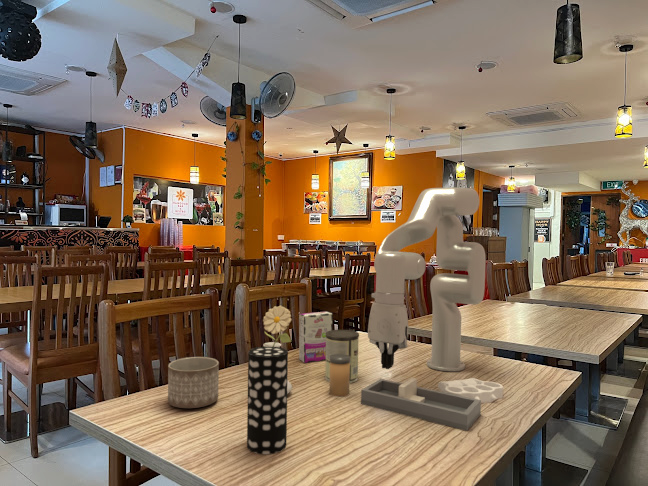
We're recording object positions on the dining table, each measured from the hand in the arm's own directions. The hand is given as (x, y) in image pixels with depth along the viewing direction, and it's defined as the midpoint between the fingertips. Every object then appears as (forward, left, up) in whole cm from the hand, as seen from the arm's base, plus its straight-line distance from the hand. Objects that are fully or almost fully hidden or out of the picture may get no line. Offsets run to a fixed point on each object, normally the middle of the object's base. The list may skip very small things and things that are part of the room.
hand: (387, 367), depth 124 cm
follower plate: (-1, +7, -8) cm, 11 cm away
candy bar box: (-22, -38, -10) cm, 45 cm away
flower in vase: (+13, -28, -10) cm, 32 cm away
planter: (+30, -41, -10) cm, 52 cm away
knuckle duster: (-19, +17, -10) cm, 27 cm away
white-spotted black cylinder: (+37, -10, -10) cm, 40 cm away
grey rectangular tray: (-1, +9, -9) cm, 13 cm away
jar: (+1, -14, -9) cm, 17 cm away
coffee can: (-10, -20, -10) cm, 24 cm away
